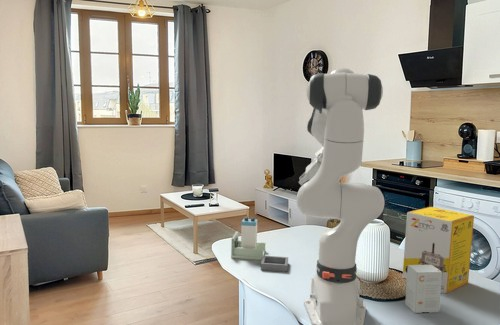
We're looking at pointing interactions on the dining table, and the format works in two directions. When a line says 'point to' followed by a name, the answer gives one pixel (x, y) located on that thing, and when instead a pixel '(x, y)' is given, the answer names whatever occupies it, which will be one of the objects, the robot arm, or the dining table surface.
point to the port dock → (246, 250)
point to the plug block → (249, 233)
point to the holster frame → (269, 264)
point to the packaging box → (440, 244)
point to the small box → (423, 288)
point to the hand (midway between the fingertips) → (299, 181)
